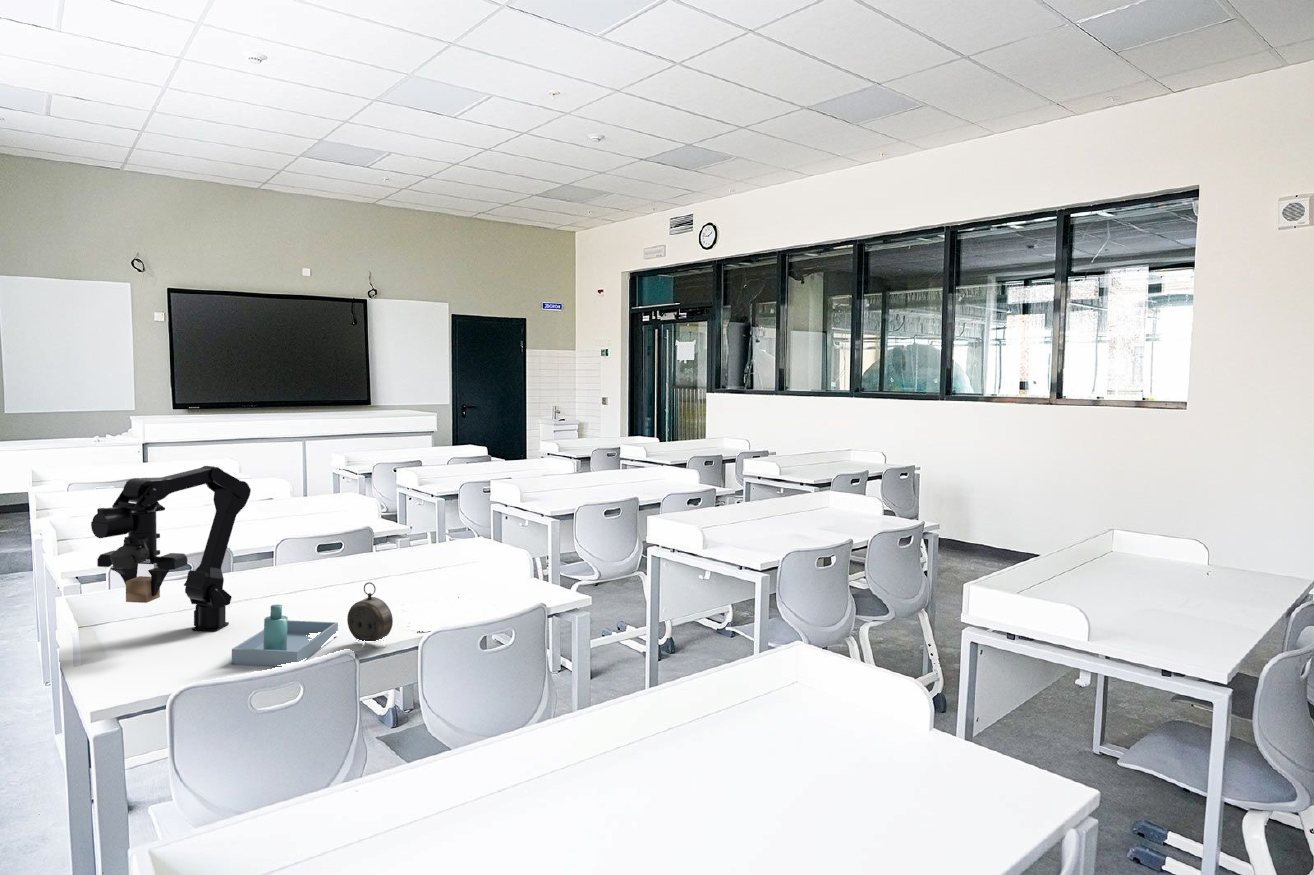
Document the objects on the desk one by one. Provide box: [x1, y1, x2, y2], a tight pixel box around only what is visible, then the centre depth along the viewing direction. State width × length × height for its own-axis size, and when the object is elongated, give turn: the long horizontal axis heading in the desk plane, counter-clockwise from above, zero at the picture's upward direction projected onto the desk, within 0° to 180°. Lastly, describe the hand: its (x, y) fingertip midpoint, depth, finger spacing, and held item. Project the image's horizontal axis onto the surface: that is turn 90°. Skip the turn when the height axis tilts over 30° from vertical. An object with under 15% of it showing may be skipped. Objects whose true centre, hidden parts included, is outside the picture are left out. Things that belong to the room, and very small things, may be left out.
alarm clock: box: [346, 581, 394, 642], centre depth 204 cm, size 11×5×16 cm, turn 71°
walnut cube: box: [125, 575, 161, 604], centre depth 197 cm, size 5×5×5 cm
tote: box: [231, 619, 339, 667], centre depth 200 cm, size 15×23×4 cm, turn 179°
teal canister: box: [263, 604, 289, 651], centre depth 193 cm, size 5×5×12 cm
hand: (143, 595), depth 197 cm, fingers closed on walnut cube, 5 cm apart
